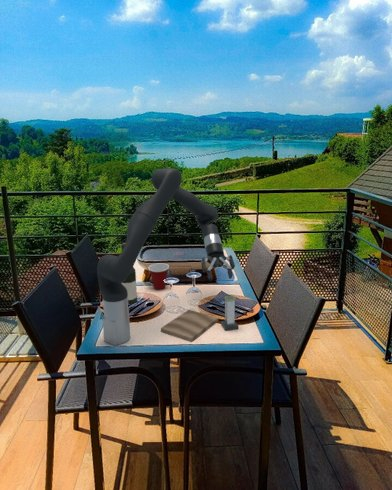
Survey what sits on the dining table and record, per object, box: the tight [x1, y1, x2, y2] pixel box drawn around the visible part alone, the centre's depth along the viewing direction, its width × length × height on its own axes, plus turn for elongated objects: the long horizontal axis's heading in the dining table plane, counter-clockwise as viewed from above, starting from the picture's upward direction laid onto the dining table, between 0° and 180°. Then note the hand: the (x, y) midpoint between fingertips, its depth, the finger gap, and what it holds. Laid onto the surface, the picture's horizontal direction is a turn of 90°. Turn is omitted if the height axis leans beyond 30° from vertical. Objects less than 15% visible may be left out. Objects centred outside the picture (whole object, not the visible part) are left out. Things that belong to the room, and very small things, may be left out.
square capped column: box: [220, 294, 239, 332], centre depth 147 cm, size 6×6×13 cm
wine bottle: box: [121, 242, 138, 305], centre depth 166 cm, size 8×8×30 cm
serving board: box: [160, 309, 219, 343], centre depth 149 cm, size 20×15×2 cm
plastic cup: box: [147, 262, 170, 291], centre depth 189 cm, size 11×11×12 cm
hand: (221, 278), depth 155 cm, fingers open, 8 cm apart
